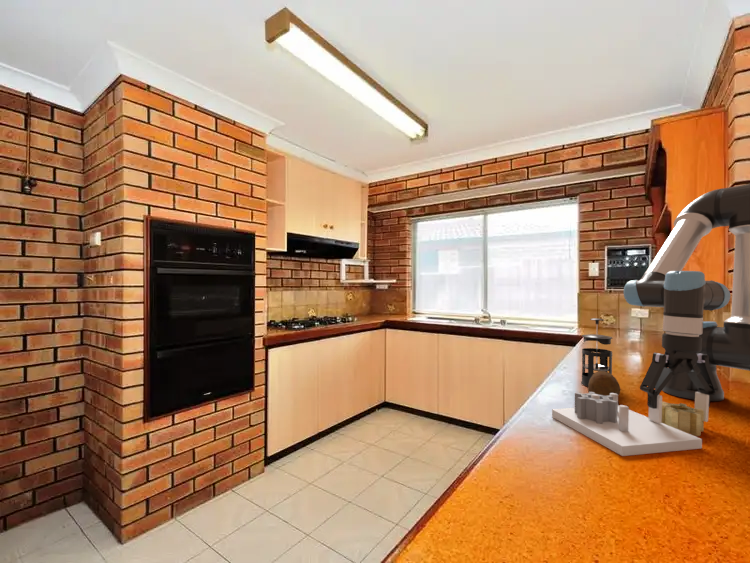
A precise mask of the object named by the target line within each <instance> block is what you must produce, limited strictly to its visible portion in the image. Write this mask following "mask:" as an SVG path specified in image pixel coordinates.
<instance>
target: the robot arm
mask: <svg viewBox="0 0 750 563" xmlns="http://www.w3.org/2000/svg"><path fill="white" fill-rule="evenodd" d="M673 226H674V227H673V229H672V230H671V232H670V233H669V236H668V237H667V238H666V239H665V241H664V243H663V244H662V246H661V247H660V248H659V251H658V252H657V254H656V255H655V257H654V258H653V259H652V262H650V264H649V266H648V268H647V269H646V271H645V272H644V273H643V275H642V277H641V278H640V279H633V280H629V281H626V283H625V285H624V287H623V297H624V299H625V301H626V303H627V304H629V305H630V306H637V307H644V308H645V307H651V308H653V307H654V308H663V313H662V314H663V316H662V318H663V320H662V331H664V333H662V335H661V347H662V348H663V349H664V351H665V352H664V353H659V352H653V354H652V360H651V362H650V364H649V367H648V369H647V371H646V373H645V375H644V376H643V377H644V378H643V380H642V382H641V384H640V385H639V386H640V387H639V390H640V391H643V392H644V393H646V394H647V401H646V402H647V404H646V405H647V407H648V415H647V417H648V419H649V420H652V421H654V422H656V423H661V420H662V402H663V395H660V394H661V392H662V391H663V392H664V393H665V394H669V395H671V396H675V397H679V398H683V399H687V400H688V399H689V400H694V409H702V410H703V411H704V422H706V423H707V422H709V409H710V408H709V407H710V405H711V403H710V402H720V401H724V399H725V392H724V389H723V387H722V384H721V381H720V379H719V377H718V374H717V366H719V367H725V368H732V369H738V370H743V371H749V372H750V183H748V184H741V185H736V186H730V187H723V188H717V189H714V190H711V191H708V192H706V193H704V194H702V195H700V196H699V197H697V198H695V199H694V200H693V201H691V202H690V203H689V204H687V205H685V207H684V208H682V210H681V211H680V212H679V213H678V215H677V216H676V218H675V219H674V221H673ZM720 227H728V231H729V232H730V233H731V234H733V236H735V237H734V238H735V239H734V257H733V259H734V260H733V275H732V277H733V278H732V292H731V293H732V294H731V293H730V289H729V288H728V287H727V286H726V285H725V284H723V283H721V282H718V281H715V280H706V276H705V273H704V272H703V271H698V270H683V269H684V268H685V267H686V264H687V263H688V262H689V259H690V258H691V256H692V255H693V253H694V252H695V250H696V248H697V246H698V244H699V243H700V242H701V240H702V238H703V237H705V236H707V235H709V234H710V233H711V231H712V230H713V229H716V228H720ZM730 301H731V313H730V316H729V317H728V318H726V319H725V320H724V321H723V326H719V325H718V323H717V322H716V321H710V320H709V321H704V311H714V310H719V309H723V308H724V307H725V306H727V305H728V304H729V302H730Z"/></svg>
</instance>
